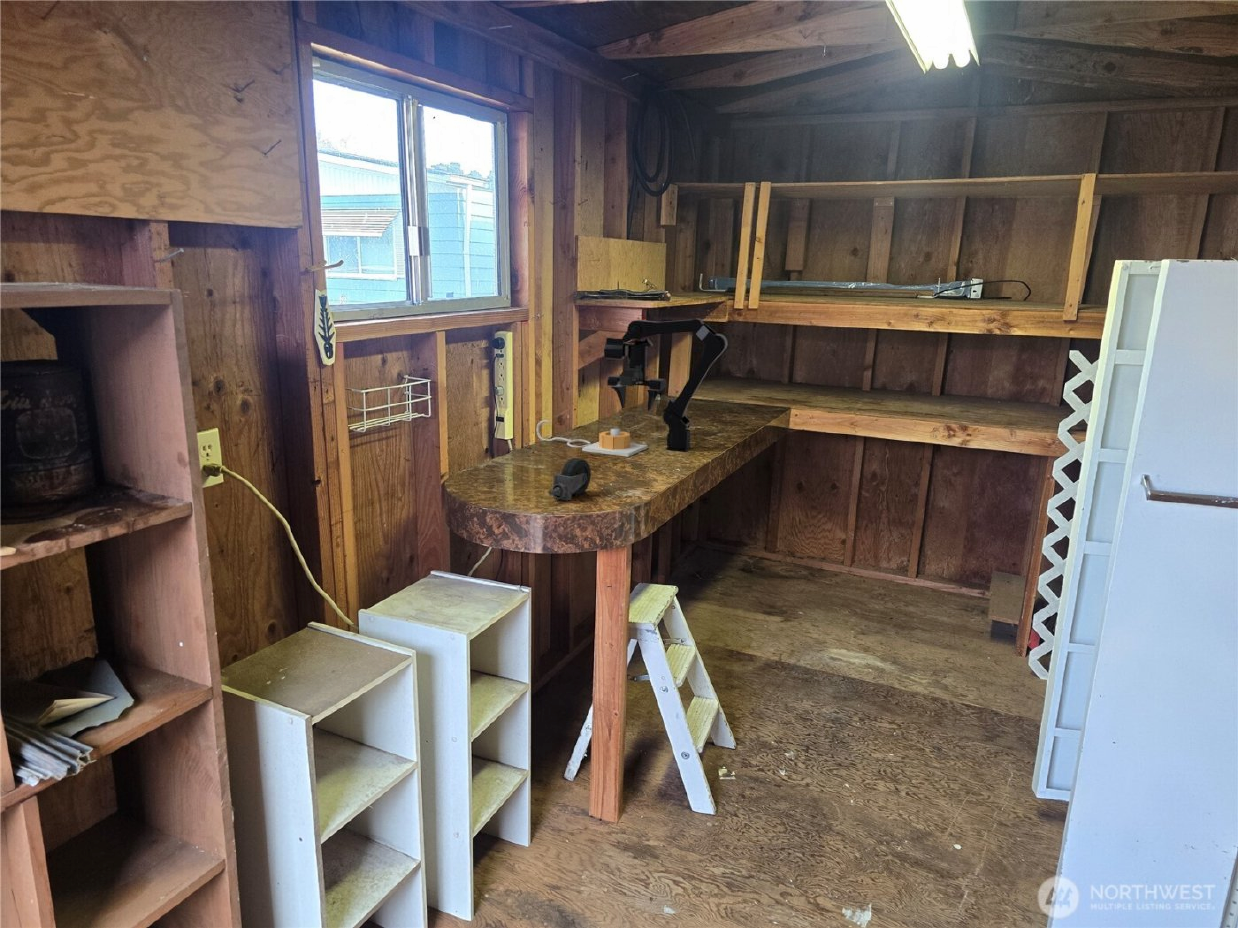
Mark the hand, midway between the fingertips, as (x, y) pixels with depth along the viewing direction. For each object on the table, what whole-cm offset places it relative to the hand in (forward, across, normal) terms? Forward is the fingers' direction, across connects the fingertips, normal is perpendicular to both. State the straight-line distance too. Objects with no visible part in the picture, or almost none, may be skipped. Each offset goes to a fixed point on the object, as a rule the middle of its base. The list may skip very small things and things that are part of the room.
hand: (636, 409), depth 247 cm
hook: (+13, -23, -7) cm, 28 cm away
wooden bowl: (+11, -3, -8) cm, 14 cm away
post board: (+12, -3, -8) cm, 15 cm away
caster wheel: (+12, +12, -63) cm, 65 cm away
